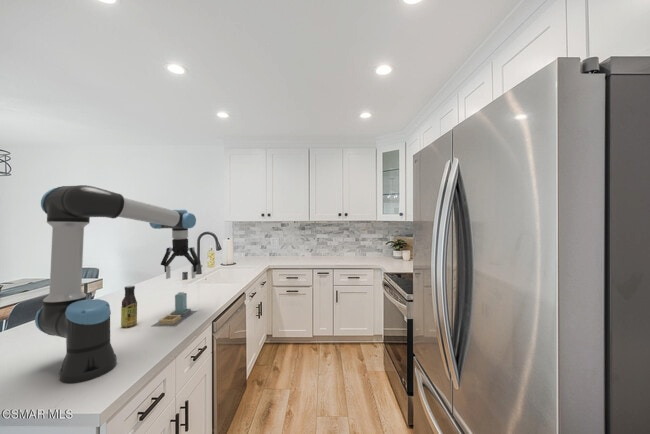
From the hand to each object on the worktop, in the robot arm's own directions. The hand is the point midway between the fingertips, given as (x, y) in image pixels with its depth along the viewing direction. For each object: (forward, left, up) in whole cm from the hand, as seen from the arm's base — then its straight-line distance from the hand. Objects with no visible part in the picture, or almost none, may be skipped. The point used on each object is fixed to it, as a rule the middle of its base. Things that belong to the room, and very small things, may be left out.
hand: (180, 278), depth 149 cm
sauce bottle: (-15, +17, -21) cm, 31 cm away
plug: (0, 0, -19) cm, 19 cm away
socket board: (-5, 0, -20) cm, 21 cm away
